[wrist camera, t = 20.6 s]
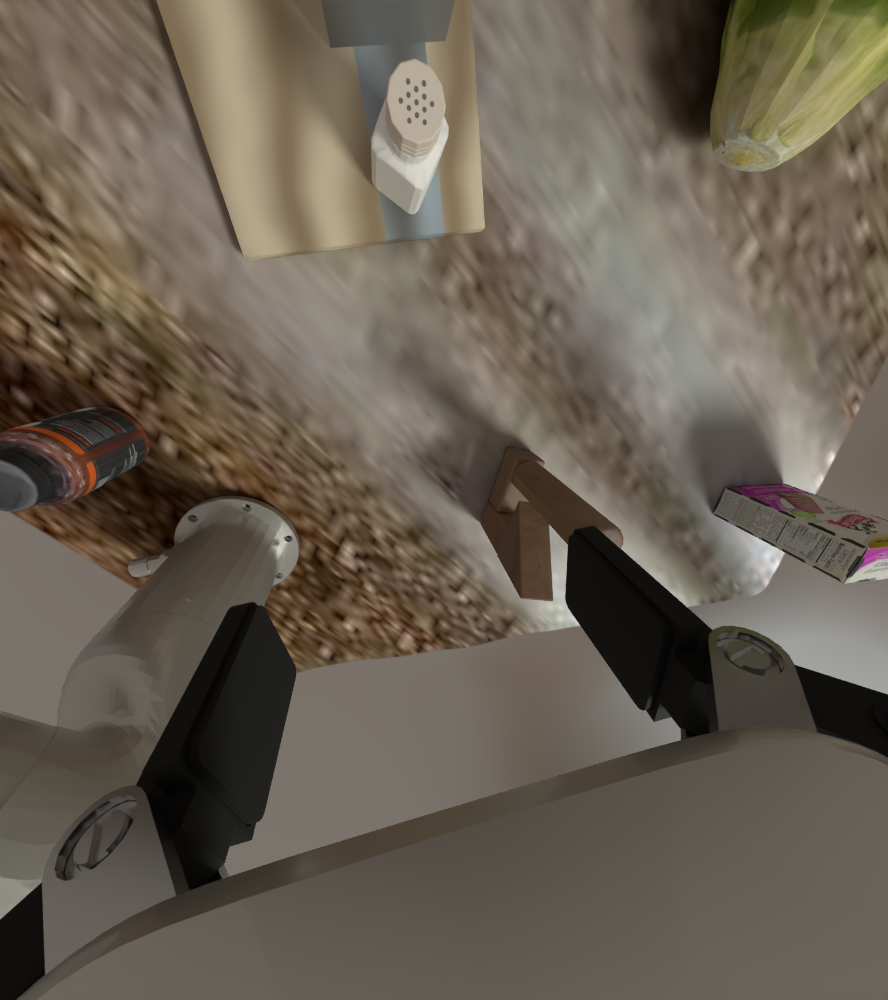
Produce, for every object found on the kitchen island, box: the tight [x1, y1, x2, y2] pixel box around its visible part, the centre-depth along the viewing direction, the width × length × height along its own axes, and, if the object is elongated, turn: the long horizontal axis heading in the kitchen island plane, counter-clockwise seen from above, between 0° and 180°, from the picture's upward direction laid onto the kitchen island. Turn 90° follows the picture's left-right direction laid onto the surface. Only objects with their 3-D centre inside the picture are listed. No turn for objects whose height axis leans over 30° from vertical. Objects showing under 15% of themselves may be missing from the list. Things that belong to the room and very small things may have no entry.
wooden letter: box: [481, 447, 623, 601], centre depth 34 cm, size 4×11×18 cm, turn 165°
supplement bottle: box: [0, 407, 150, 512], centre depth 27 cm, size 6×6×11 cm
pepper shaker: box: [371, 59, 449, 215], centre depth 22 cm, size 4×4×10 cm
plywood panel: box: [156, 0, 485, 261], centre depth 23 cm, size 20×20×1 cm
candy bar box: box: [713, 484, 888, 583], centre depth 43 cm, size 11×5×16 cm, turn 88°
